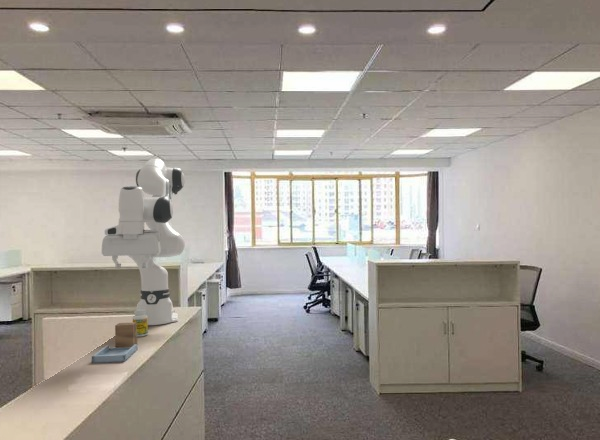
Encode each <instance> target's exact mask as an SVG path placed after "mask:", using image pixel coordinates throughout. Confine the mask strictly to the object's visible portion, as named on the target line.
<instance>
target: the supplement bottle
mask: <svg viewBox="0 0 600 440" xmlns="http://www.w3.org/2000/svg"><path fill="white" fill-rule="evenodd" d="M133 313H134V316H133V317H132V323H134V322H137V338H139V337H145V336H147V335H148V334H149V329H148V326H149V325H148V321H147V315H145V309H138V310H137V309H135V310H134V311H133Z"/></svg>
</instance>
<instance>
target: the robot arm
mask: <svg viewBox="0 0 600 440" xmlns="http://www.w3.org/2000/svg"><path fill="white" fill-rule="evenodd" d="M135 173H136V175H135V183H136V185H133V186H132V185H131V186H122V187H121V188H120V191H119V196H118V212H119V218H118V225H114V226H112V227H109V228H105V229H104V235H105V236H104V237H103V238H102V242H101V254H102V255H103V256H104V257H111V260H112V261H113V263H114V265H115V269H116V270H117V269H122V263H119V261H118V259H119V257H120V256H121V257H123V256H128V257H129V258H131V259H132V260H133V261H134V263H135V264H136V266H137V267H138V270H139V273H140V282H141V283H140V284H141V290H140V293H139V295H140V300H139V302H138V303H137V304H136V310H138V309H145V315H147V321H148V326H158V325H165V324H169V323H176V322H178V321H179V316H178V315H179V314H178V313H177V312H175V310H174V307H173V302H172V300H171V298H170V288H169V273H168V270H167V269H166V268H165V267H164V266H161V265H160V264H157V263H156V261H155V258H171V257H177V256H180V255H181V254H182V253H183V251H184V249H185V243H186V242H185V239H184V237H183V236H182V234H180V233H179V232H178V231H176V230H175V229H174V227H173V223H172V221H173V220H172V219H173V214H174V198H173V194H174V195H175V196H176V195H178V193H179V192H180V191H182V189H183V188H184V187H185V183H186V176H185V174H184V171H183V170H182V169H181V168H179V167H167V165H166V163H165V162H164V161H163V160H162V159H160V158H150V159H148V160H147V161H146V162H145V163H144V164H143V165H142V167H141V168H140V169H138V170H137V172H135ZM144 193H145V194H147V195H152V196H151V197H150V196H148V197H144ZM145 224H146V227H147V228H148V229H145Z"/></svg>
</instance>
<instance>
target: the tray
mask: <svg viewBox="0 0 600 440" xmlns="http://www.w3.org/2000/svg"><path fill="white" fill-rule="evenodd" d="M137 351H139V348H138V343H137V344H135V345H133V346H132V347H118V348H116V347H110V344H106V345H105V346H104V347H102V348H101V349H100V350H98V351H96V352H95V353H94V354H93V355H92V356H91V364H99V363H101V364H102V363H104V364H105V363H123V362H126V361H127V360H129V359H130V357H132V356H133V355H134V354H135V353H136V352H137Z"/></svg>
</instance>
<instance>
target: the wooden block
mask: <svg viewBox="0 0 600 440" xmlns="http://www.w3.org/2000/svg"><path fill="white" fill-rule="evenodd" d="M114 330H115V332H114V334H115V336H114V338H115V344H114V345H115V347H114V348H118V347H132V346H133V345H135V344H137V345H138V339H137V338H138V337H137V322H134V323H133V322H119V323H117V324H115V325H114Z"/></svg>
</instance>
